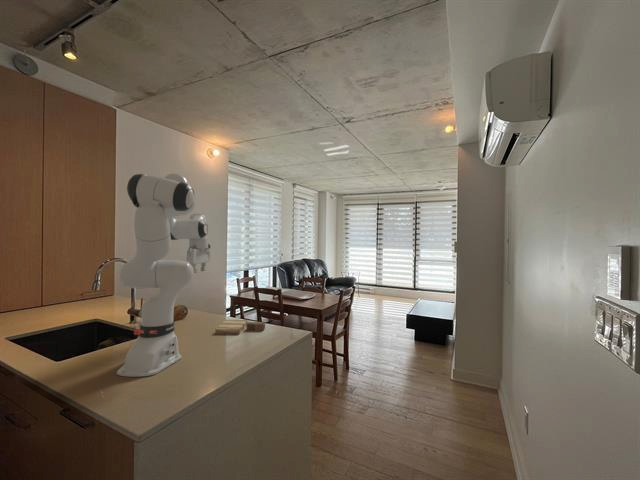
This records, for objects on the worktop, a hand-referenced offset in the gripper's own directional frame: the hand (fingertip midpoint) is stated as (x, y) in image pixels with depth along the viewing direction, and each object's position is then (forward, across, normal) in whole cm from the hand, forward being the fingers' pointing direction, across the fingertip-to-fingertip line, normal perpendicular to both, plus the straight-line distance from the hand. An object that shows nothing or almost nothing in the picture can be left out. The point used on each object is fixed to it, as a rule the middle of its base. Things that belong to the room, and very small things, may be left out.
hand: (198, 272), depth 151 cm
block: (+29, +3, -24) cm, 38 cm away
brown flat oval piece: (+29, +16, +22) cm, 40 cm away
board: (+31, +3, -16) cm, 35 cm away
